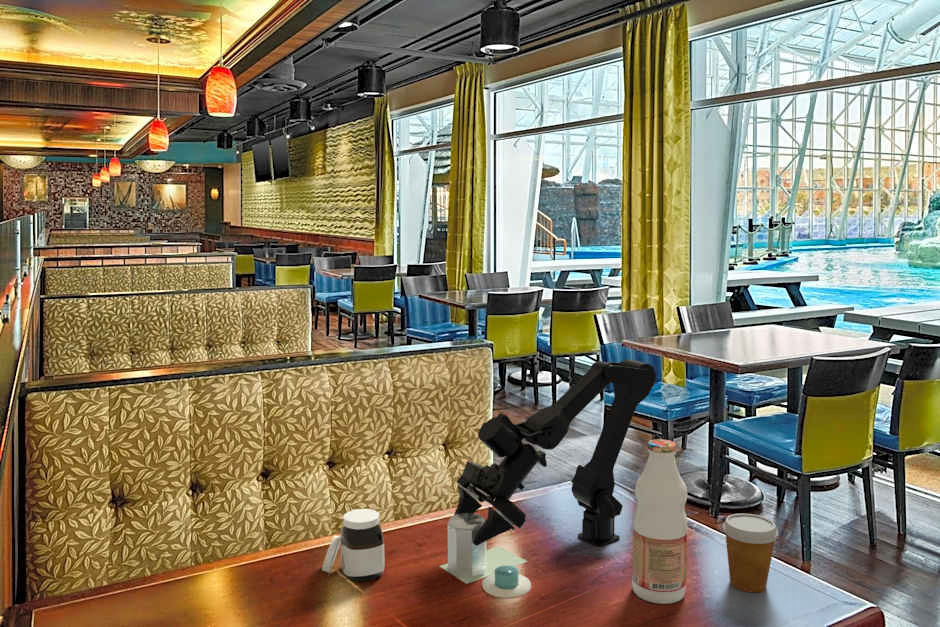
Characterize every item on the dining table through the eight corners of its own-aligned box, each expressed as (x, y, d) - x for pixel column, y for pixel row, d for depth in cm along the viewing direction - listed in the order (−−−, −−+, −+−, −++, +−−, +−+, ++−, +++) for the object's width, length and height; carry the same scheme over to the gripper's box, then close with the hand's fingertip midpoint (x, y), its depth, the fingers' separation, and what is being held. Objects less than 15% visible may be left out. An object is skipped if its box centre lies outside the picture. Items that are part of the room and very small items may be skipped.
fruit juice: (621, 589, 138) (623, 441, 134) (655, 575, 143) (658, 432, 140) (661, 611, 130) (665, 454, 127) (696, 594, 136) (701, 444, 132)
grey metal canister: (471, 558, 151) (470, 503, 149) (493, 571, 145) (492, 514, 144) (441, 568, 146) (441, 512, 145) (463, 581, 141) (462, 524, 139)
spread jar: (389, 580, 142) (388, 521, 141) (330, 592, 138) (328, 531, 136) (372, 555, 153) (371, 500, 152) (317, 565, 149) (315, 508, 147)
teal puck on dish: (509, 571, 146) (509, 555, 145) (541, 589, 138) (541, 572, 138) (472, 584, 140) (472, 568, 140) (503, 604, 133) (503, 587, 133)
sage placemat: (499, 547, 156) (499, 545, 156) (527, 562, 149) (527, 561, 149) (439, 567, 147) (439, 566, 147) (466, 585, 140) (466, 583, 140)
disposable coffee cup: (774, 576, 142) (776, 515, 141) (776, 600, 134) (779, 536, 132) (721, 569, 146) (723, 509, 144) (720, 592, 137) (722, 529, 135)
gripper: (465, 434, 153) (415, 496, 149) (512, 460, 137) (458, 530, 133) (498, 466, 158) (451, 526, 154) (548, 494, 141) (496, 563, 137)
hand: (463, 535), depth 144 cm, fingers open, 9 cm apart
